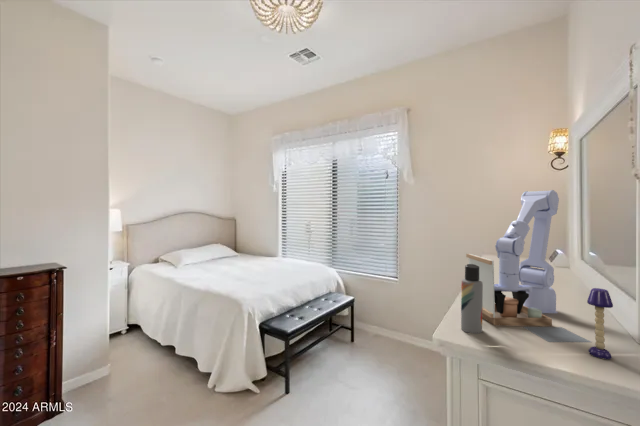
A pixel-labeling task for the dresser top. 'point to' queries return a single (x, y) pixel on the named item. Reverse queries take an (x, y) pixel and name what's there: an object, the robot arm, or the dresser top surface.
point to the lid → (485, 282)
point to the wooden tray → (518, 319)
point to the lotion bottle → (471, 300)
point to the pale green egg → (534, 313)
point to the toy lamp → (599, 320)
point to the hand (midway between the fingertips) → (508, 312)
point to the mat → (556, 334)
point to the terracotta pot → (510, 307)
